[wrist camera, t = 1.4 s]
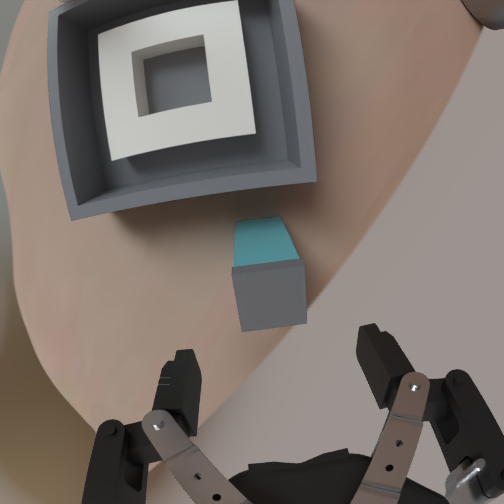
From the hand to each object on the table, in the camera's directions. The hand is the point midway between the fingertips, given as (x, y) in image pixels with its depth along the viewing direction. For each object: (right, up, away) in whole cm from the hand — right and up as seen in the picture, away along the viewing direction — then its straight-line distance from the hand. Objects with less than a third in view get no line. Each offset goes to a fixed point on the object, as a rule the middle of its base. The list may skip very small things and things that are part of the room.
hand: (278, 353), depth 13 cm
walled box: (-7, +19, +7) cm, 21 cm away
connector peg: (-1, +6, +13) cm, 15 cm away
